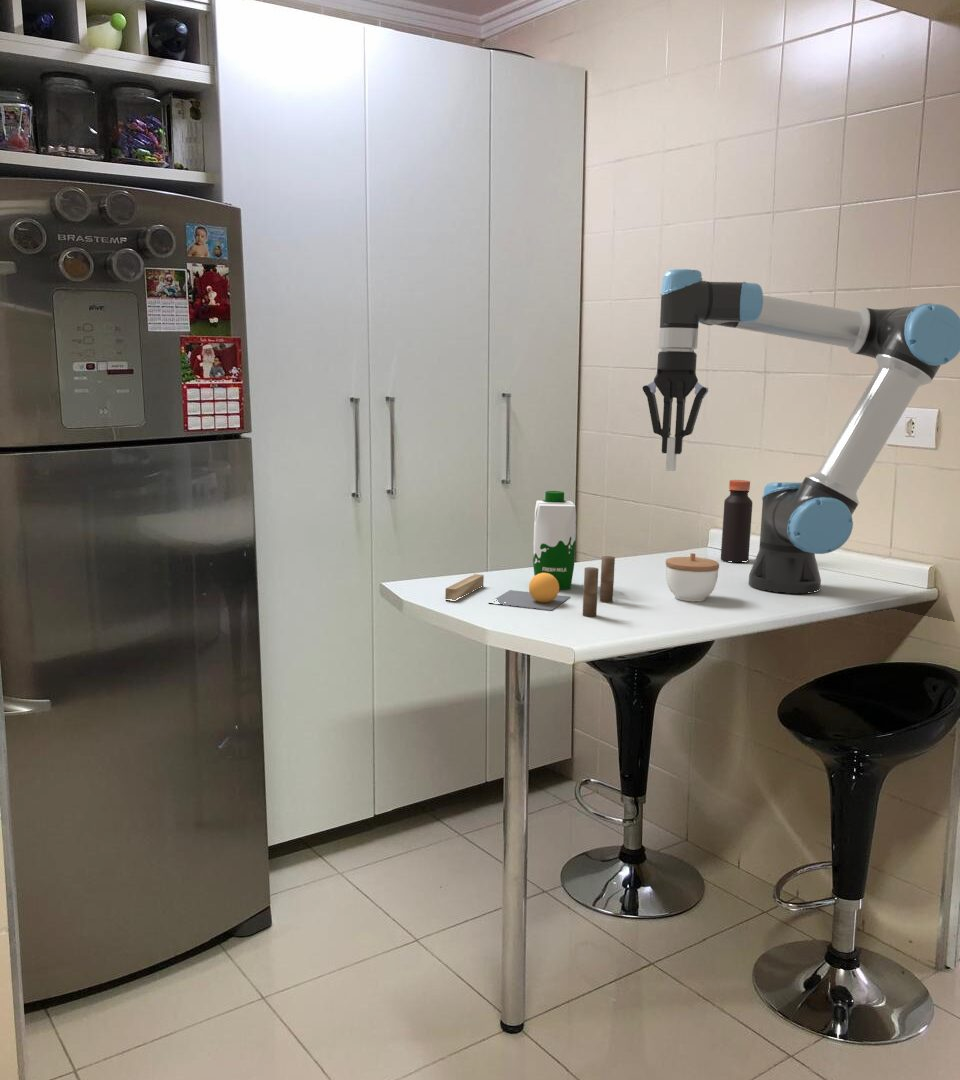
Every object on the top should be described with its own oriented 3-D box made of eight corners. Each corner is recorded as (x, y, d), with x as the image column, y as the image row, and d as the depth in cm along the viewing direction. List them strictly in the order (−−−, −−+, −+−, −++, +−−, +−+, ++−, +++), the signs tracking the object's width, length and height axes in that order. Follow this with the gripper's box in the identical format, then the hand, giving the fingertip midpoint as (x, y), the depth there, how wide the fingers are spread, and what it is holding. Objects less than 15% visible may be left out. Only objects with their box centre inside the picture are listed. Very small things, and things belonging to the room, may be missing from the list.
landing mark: (570, 597, 207) (570, 596, 207) (551, 610, 195) (551, 609, 195) (510, 590, 212) (510, 590, 212) (488, 603, 200) (488, 602, 200)
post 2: (614, 600, 206) (616, 556, 204) (611, 603, 203) (613, 558, 202) (601, 599, 206) (603, 555, 205) (598, 601, 204) (600, 557, 203)
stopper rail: (483, 586, 216) (483, 574, 215) (454, 601, 201) (454, 589, 200) (474, 585, 216) (474, 574, 216) (445, 600, 201) (445, 588, 201)
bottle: (754, 562, 252) (760, 481, 249) (734, 564, 248) (740, 482, 245) (734, 557, 258) (739, 478, 254) (714, 559, 254) (719, 479, 251)
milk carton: (570, 582, 223) (574, 491, 219) (575, 591, 214) (579, 496, 210) (530, 581, 222) (533, 490, 219) (533, 590, 213) (537, 495, 210)
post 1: (597, 614, 193) (600, 568, 192) (594, 617, 191) (596, 570, 190) (584, 613, 194) (586, 566, 193) (581, 615, 192) (583, 569, 190)
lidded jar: (716, 594, 214) (719, 550, 212) (717, 606, 203) (720, 559, 202) (664, 591, 216) (667, 547, 214) (662, 602, 206) (665, 556, 204)
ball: (546, 564, 204) (527, 585, 206) (538, 569, 198) (519, 591, 200) (568, 584, 203) (548, 605, 205) (561, 590, 197) (541, 612, 199)
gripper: (713, 351, 202) (706, 470, 205) (648, 350, 206) (642, 466, 210) (708, 350, 195) (700, 473, 199) (640, 349, 199) (634, 469, 203)
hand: (670, 470), depth 204 cm, fingers closed
